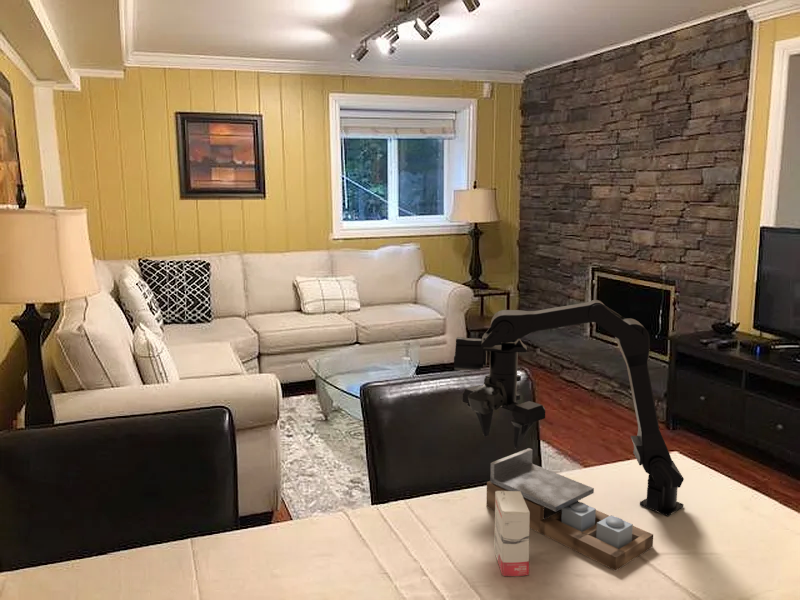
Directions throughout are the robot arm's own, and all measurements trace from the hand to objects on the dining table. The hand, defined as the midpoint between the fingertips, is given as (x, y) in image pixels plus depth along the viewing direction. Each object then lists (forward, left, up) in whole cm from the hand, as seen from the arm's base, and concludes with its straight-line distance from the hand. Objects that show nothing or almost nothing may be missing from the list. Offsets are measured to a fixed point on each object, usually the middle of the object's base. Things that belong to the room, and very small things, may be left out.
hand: (501, 442), depth 140 cm
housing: (0, +17, -12) cm, 21 cm away
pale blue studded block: (0, +20, -12) cm, 23 cm away
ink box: (+18, +19, -13) cm, 29 cm away
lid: (0, +11, -6) cm, 13 cm away
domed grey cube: (0, +28, -12) cm, 30 cm away
